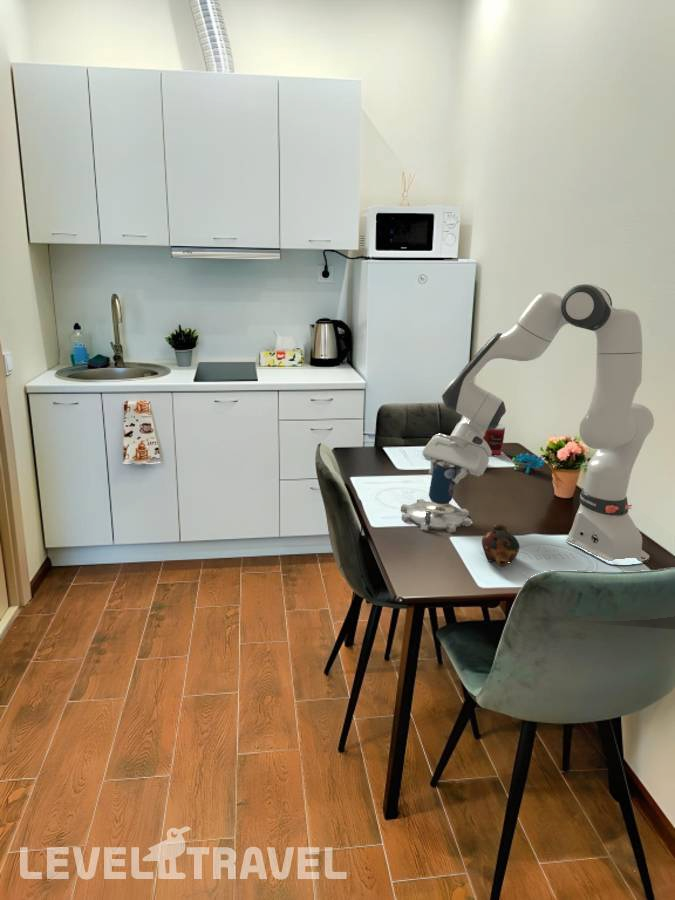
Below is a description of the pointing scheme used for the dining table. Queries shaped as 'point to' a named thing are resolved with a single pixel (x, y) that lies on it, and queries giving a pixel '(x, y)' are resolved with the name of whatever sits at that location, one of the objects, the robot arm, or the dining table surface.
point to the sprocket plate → (435, 515)
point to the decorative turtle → (500, 545)
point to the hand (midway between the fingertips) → (442, 478)
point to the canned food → (495, 439)
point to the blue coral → (528, 462)
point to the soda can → (442, 482)
